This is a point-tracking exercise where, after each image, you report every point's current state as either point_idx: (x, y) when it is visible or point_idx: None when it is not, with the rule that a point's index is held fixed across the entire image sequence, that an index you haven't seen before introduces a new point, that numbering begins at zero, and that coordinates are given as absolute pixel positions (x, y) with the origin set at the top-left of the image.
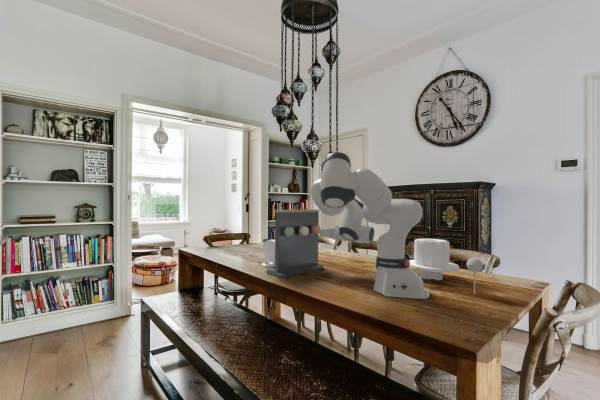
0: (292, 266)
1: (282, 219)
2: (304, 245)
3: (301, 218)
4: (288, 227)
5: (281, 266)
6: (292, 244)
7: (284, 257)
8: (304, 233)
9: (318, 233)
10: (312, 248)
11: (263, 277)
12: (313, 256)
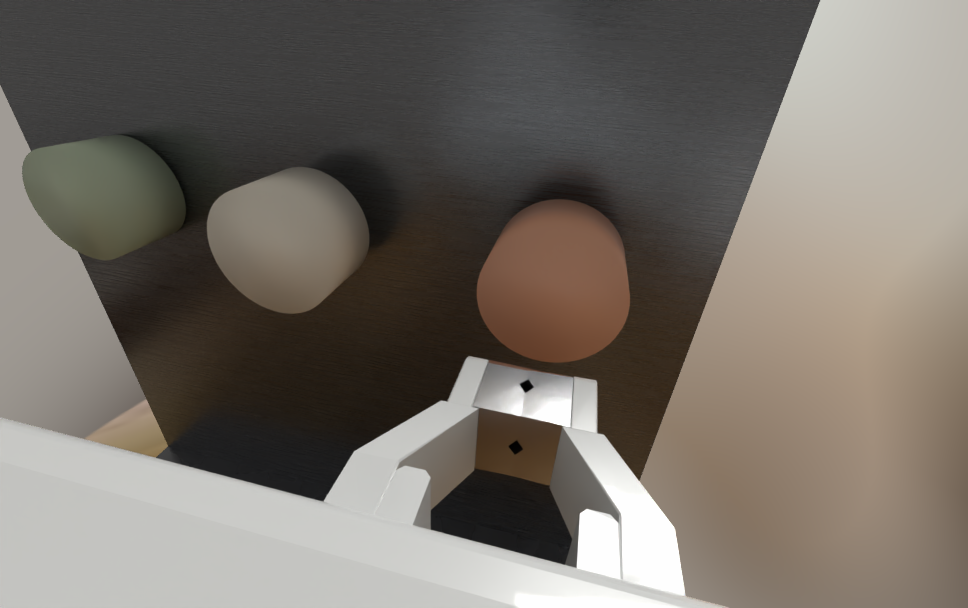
0: (296, 466)
1: (28, 26)
2: (423, 379)
3: (345, 47)
4: (63, 144)
5: (190, 430)
6: (258, 325)
7: (197, 389)
8: (249, 280)
9: (557, 354)
10: None
11: (139, 418)
12: (551, 496)
